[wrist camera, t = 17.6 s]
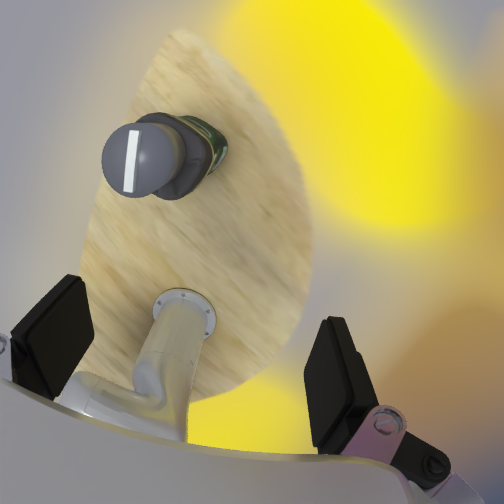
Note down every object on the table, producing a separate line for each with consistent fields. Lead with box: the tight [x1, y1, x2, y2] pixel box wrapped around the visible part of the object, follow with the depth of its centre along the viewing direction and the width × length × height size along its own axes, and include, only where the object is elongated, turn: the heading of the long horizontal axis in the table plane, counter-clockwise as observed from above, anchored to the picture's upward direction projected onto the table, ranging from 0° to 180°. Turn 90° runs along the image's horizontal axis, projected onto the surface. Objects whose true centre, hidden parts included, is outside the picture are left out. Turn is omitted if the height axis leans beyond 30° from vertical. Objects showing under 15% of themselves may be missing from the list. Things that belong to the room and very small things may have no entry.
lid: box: [102, 123, 186, 198], centre depth 22 cm, size 6×6×6 cm
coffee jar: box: [135, 112, 227, 200], centre depth 33 cm, size 10×8×19 cm
